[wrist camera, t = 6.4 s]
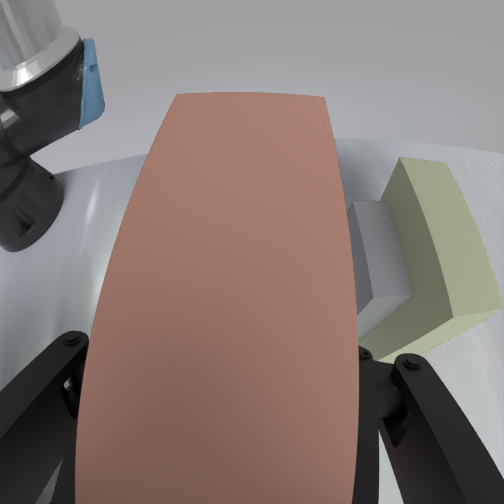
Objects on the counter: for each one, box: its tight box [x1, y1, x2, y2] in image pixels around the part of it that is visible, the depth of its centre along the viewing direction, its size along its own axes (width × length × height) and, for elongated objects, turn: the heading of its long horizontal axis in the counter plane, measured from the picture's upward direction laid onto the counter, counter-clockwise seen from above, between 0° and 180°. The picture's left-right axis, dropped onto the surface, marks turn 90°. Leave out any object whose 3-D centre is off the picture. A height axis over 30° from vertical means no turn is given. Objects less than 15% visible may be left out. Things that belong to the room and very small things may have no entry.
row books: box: [358, 157, 503, 364], centre depth 23 cm, size 12×8×17 cm, turn 0°
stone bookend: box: [347, 200, 412, 341], centre depth 25 cm, size 8×3×13 cm, turn 0°
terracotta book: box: [75, 92, 359, 504], centre depth 12 cm, size 12×4×16 cm, turn 176°
